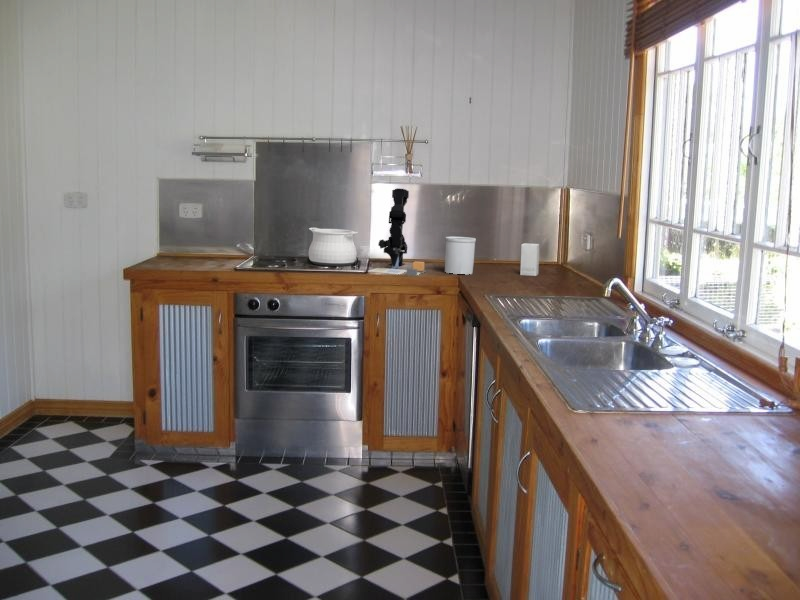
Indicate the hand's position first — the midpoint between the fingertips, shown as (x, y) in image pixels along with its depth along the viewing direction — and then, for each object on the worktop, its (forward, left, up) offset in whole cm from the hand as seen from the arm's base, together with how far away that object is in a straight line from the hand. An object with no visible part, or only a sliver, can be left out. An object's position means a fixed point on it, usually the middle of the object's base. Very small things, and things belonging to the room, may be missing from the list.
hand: (395, 266), depth 440 cm
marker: (0, 0, -2) cm, 2 cm away
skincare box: (-22, +63, -2) cm, 67 cm away
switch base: (+8, +14, -2) cm, 16 cm away
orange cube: (+5, +14, 0) cm, 15 cm away
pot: (0, -34, -2) cm, 34 cm away
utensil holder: (-7, +31, -2) cm, 32 cm away
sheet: (+9, 0, -2) cm, 9 cm away
